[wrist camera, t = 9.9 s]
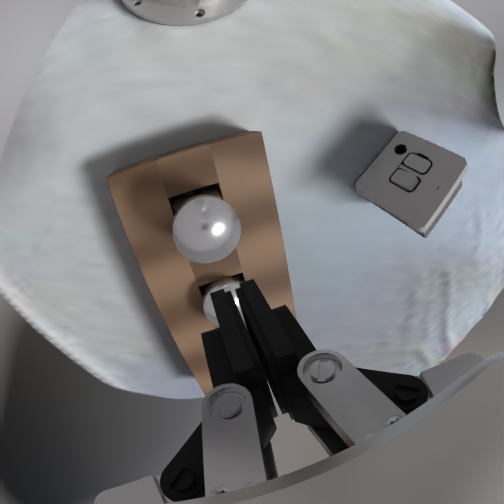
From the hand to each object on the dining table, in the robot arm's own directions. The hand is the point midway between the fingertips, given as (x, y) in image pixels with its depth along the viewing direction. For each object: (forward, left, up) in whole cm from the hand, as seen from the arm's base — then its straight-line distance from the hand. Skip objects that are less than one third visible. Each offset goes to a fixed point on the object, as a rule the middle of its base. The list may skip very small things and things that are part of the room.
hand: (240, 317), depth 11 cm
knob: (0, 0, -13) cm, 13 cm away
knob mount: (+8, 0, -16) cm, 18 cm away
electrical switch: (+2, +21, -17) cm, 27 cm away
